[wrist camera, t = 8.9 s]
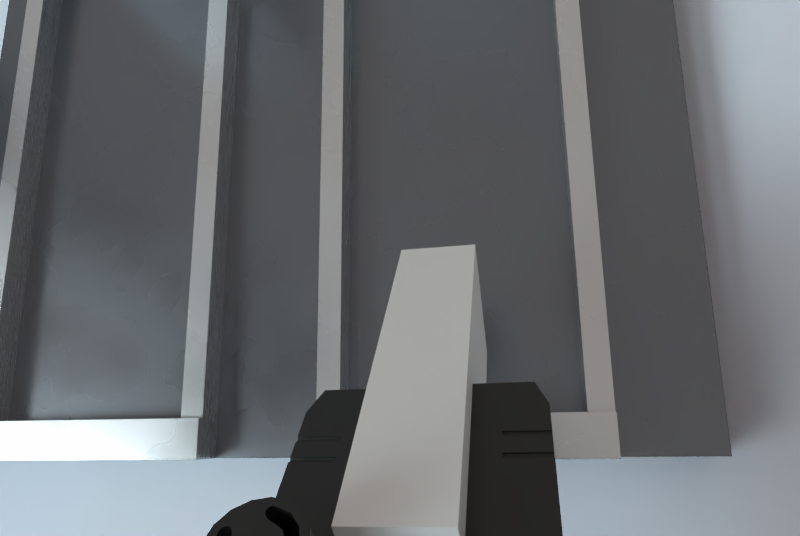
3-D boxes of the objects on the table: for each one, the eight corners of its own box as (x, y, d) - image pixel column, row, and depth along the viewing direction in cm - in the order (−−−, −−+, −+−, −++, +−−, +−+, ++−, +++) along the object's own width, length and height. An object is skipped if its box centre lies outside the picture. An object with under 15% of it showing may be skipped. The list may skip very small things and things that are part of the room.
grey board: (717, 453, 16) (745, 458, 14) (-27, 456, 20) (-93, 460, 18) (620, -324, 22) (629, -404, 20) (66, -201, 26) (24, -256, 24)
